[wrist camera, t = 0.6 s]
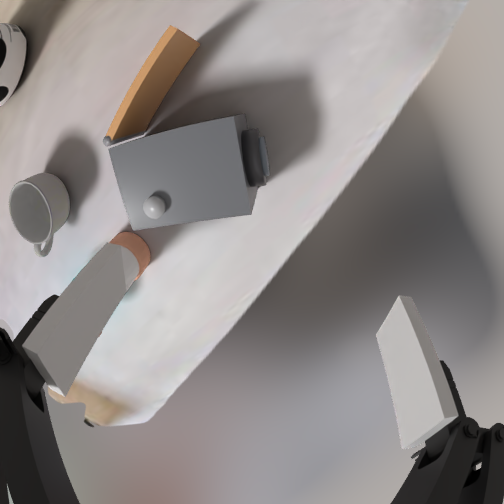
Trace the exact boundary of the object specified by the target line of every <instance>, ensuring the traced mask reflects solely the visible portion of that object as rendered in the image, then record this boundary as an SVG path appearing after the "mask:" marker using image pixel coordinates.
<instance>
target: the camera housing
mask: <svg viewBox="0 0 504 504" xmlns="http://www.w3.org/2000/svg"><path fill="white" fill-rule="evenodd" d="M109 153H110V157H111V161H112V165H113V168H114V172H115V176H116V179H117V183H118V186H119V189H120V193H121V196H122V199H123V203H124V206H125V209H126V212H127V215H128V218H129V221H130V224H131V227H132V230H133V231H136V230H142V229H149V228H155V227H162V226H169V225H176V224H183V223H190V222H197V221H204V220H212V219H219V218H227V217H235V216H243V215H251V214H252V210H253V206H254V202H255V198H256V194H257V190H258V186H265V185H266V183H267V178H266V176H269V175H270V171H269V161H268V153H267V147H266V142H265V138H264V137H261V136H260V132H259V130H258V128H257V129H250V130H248V128H247V122H246V116H245V114H240V115H234V116H229V117H223V118H218V119H213V120H208V121H204V122H199V123H195V124H190V125H186V126H182V127H178V128H174V129H170V130H166V131H163V132H159V133H155V134H152V135H148V136H145V137H142V138H139V139H136V140H133V141H130V142H127V143H124V144H121V145H118V146H115V147H112V148H110V149H109Z"/></svg>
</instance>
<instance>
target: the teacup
mask: <svg viewBox="0 0 504 504" xmlns="http://www.w3.org/2000/svg"><path fill="white" fill-rule="evenodd" d="M9 211H10V216H11V219H12V222H13V224H14V226H15V228H16V230H17V231H18V233H19V234H20V235H21V236H22V237H23V238H24V239H25V240H27V241H29V242H30V243H33V244H34V251H35V253H36V255H37V256H39V257H45V256H47V255H48V254H49V252H50V250H51V247H52V243H53V235H54V233H55V232H56V231H58V230H59V229H60V228H61V227H62V226H63V224H64V223H65V222H66V220H67V218H68V215H69V211H70V200H69V195H68V192H67V189H66V187H65V186H64V184H63V183H62V181H61V180H60V179H59V178H57V177H56V176H55V175H53V174H50V173H40V174H37V175H34V176H32V177H30V178H27V179H25V180H23V181H20V182H18V183H16V184H15V185H14V187H13V188H12V190H11V193H10V197H9ZM44 242H46V244H45V247H44V249H43V250H42V251H41V244H42V243H44Z"/></svg>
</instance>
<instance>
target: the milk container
mask: <svg viewBox="0 0 504 504" xmlns="http://www.w3.org/2000/svg"><path fill="white" fill-rule="evenodd" d="M26 56H27V39H26V35H25V32H24V31H23V30H22V29H21V28H20V27H19V26H17V25H14V24H10V23H0V106H1V105H3V104H4V103H5V102H6V101H7V100H8V99H9V98H10V97H11V95H12V94H13V92H14V91H15V89H16V87H17V85H18V83H19V81H20V78H21V75H22V72H23V70H24V65H25V60H26Z"/></svg>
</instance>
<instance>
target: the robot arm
mask: <svg viewBox="0 0 504 504" xmlns="http://www.w3.org/2000/svg"><path fill="white" fill-rule="evenodd" d="M126 292H127V290H126V283H125V276H124V268H123V260H122V251H121V245H116V244H112V243H106V244H105V245H104V247H103V248H102V249H101V250H100V251H99V252H98V253H97V254H96V255H95V256H94V257H93V258H92V259H91V260H90V262H89V263H88V264H87V265H86V266H85V267H84V268H83V269H82V270H81V272H80V273H79V274H78V275H77V276H76V277H75V278H74V280H73V281H72V282H71V283H70V284H69V285H68V287H67V288H66V289H65V290H64V291H63V293H62V294H61V295H60V296H57V295H52V296H51V297H49V298H48V299H46V300H45V301H44V302H43V303H42V304H41V306H40V307H39V308H38V310H37V311H36V312H35V313H34V314H33V316H32V318H30V319H29V321H28V322H27V323H26V325H25V326H24V327H23V329H22V330H21V331H20V333H19V334H18V335H17V337H16V338H15V339H14V341H13V342H12V340H11V339H10V337H9V335H8V333H7V332H6V331H5V330H4V329H2V328H0V504H9V498H8V490H7V484H8V488H9V491H10V494H11V497H12V500H13V503H14V504H80V503H79V501H78V499H77V496H76V494H75V492H74V489H73V487H72V485H71V483H70V480H69V477H68V475H67V472H66V469H65V467H64V464H63V461H62V458H61V455H60V452H59V449H58V445H57V442H56V438H55V435H54V431H53V428H52V424H51V420H50V416H49V411H48V407H47V403H46V397H45V392H44V389H43V385H44V383H45V382H46V383H47V385H48V386H49V388H50V389H51V390H53V391H55V392H57V393H59V394H61V395H63V396H65V397H66V395H67V393H68V391H69V389H70V387H71V385H72V383H73V381H74V379H75V377H76V376H77V374H78V372H79V370H80V368H81V366H82V365H83V363H84V361H85V359H86V357H87V356H88V354H89V352H90V350H91V349H92V347H93V345H94V343H95V342H96V340H97V338H98V337H99V335H100V333H101V332H102V330H103V328H104V327H105V325H106V323H107V322H108V320H109V318H110V317H111V315H112V314H113V312H114V310H115V309H116V307H117V306H118V304H119V303H120V301H121V299H122V298H123V296H124V295H125V293H126ZM376 337H377V341H378V344H379V348H380V352H381V355H382V359H383V363H384V367H385V371H386V374H387V379H388V382H389V387H390V391H391V395H392V400H393V405H394V410H395V414H396V419H397V424H398V429H399V435H400V441H401V447H402V449H408V448H414V447H417V446H419V445H420V444H422V443H423V442H424V441H425V443H426V447H424V448H423V449H421V450H419V451H418V452H416V453H415V454H414V455H412V457H411V458H415V457H416V456H418V455H419V457H418V458H417V459H416V460H415V461H416V462H415V464H414V466H413V468H412V470H411V471H410V473H409V475H408V477H407V478H406V480H405V482H404V484H403V485H402V487H401V488H400V490H399V492H398V493H397V495H396V496H395V498H394V500H393V501H392V503H391V504H502V503H503V498H504V425H503V424H501V423H496V424H495V425H494V426H492V427H491V428H490V429H486V428H480V427H479V426H478V423H477V422H476V421H475V420H474V419H472V418H470V417H466V414H465V411H464V409H463V405H462V402H461V399H460V397H459V394H458V391H457V389H456V385H455V383H454V381H453V377H452V374H451V372H450V369H449V368H448V367H447V365H446V364H445V363H444V361H439V358H438V356H437V353H436V351H435V348H434V346H433V344H432V341H431V339H430V337H429V334H428V332H427V330H426V328H425V325H424V323H423V321H422V319H421V317H420V315H419V312H418V310H417V308H416V306H415V304H414V302H413V300H412V298H411V297H406V296H398V298H397V300H396V302H395V303H394V305H393V307H392V309H391V310H390V312H389V314H388V316H387V317H386V319H385V321H384V323H383V324H382V326H381V327H380V329H379V331H378V332H377V334H376ZM481 462H482V465H481V468H480V469H478V470H476V465H477V464H479V463H481Z"/></svg>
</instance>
